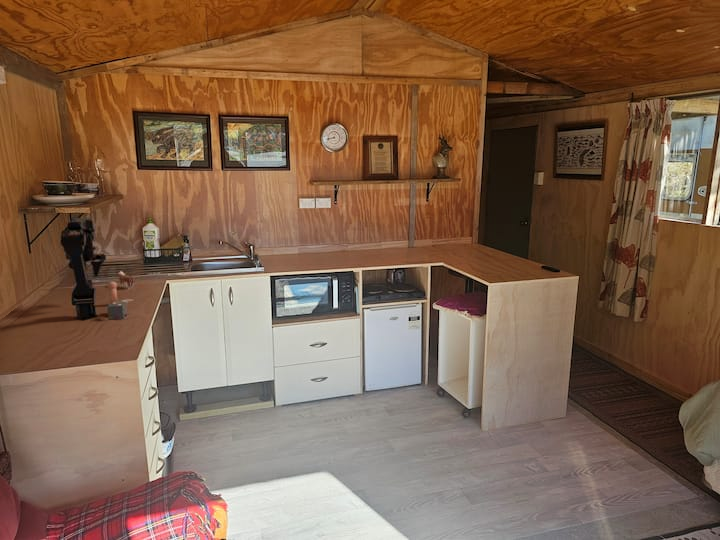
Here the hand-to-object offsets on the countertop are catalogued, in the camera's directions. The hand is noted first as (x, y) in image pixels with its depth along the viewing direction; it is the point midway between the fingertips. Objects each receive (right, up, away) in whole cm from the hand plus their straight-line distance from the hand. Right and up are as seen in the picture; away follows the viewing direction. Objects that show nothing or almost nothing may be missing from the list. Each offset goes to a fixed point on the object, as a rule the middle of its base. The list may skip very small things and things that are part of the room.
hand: (89, 278), depth 232 cm
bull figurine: (-1, -6, +39) cm, 39 cm away
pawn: (+11, -12, +2) cm, 16 cm away
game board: (+12, -13, +6) cm, 18 cm away
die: (+19, -17, -12) cm, 28 cm away
